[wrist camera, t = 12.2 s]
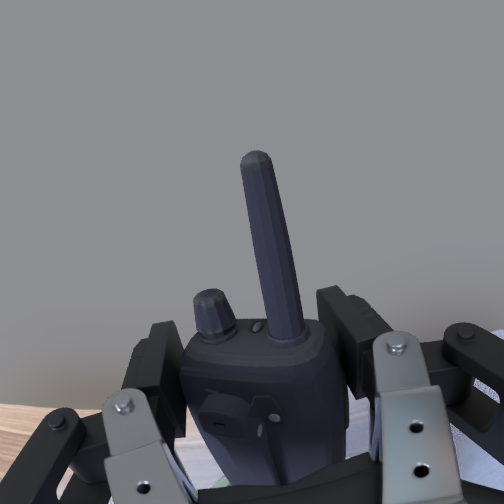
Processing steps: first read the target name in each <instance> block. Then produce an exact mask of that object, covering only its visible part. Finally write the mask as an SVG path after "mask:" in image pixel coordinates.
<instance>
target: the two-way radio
mask: <svg viewBox="0 0 504 504" xmlns="http://www.w3.org/2000/svg"><path fill="white" fill-rule="evenodd" d="M240 168H241V174H242V180H243V186H244V192H245V198H246V204H247V210H248V216H249V222H250V228H251V234H252V240H253V246H254V252H255V257H256V262H257V267H258V273H259V279H260V284H261V289H262V294H263V300H264V305H265V310H266V315H267V319H236V318H235V315H234V313H233V311H232V309H231V307H230V305H229V303H228V301H227V299H226V297H225V295H224V292H223V291H221V290H219V289H207V290H204V291H202V292H200V293H198V294H197V295H196V296H195V297H194V300H193V301H194V302H193V303H194V312H195V320H196V328H197V331H198V332H197V333H196V334H195V335H194V336H193V338H191V340H190V341H189V343H188V345H187V346H186V348H185V350H184V352H183V354H182V359H181V368H180V374H179V381H180V385H181V389H182V392H183V395H184V398H185V400H186V402H187V405H188V408H189V410H190V413H191V415H192V417H193V419H194V421H195V424H196V426H197V428H198V430H199V432H200V434H201V436H202V438H203V439H204V441H205V443H206V445H207V447H208V449H209V450H210V452H211V454H212V455H213V457H214V459H215V460H216V462H217V463H218V465H219V467H220V468H221V470H222V471H223V473H224V474H225V476H226V478H227V479H228V481H229V482H230V484H231V485H232V486H234V485H288V484H290V483H293V482H295V481H297V480H299V479H301V478H303V477H305V476H307V475H309V474H311V473H313V472H315V471H317V470H319V469H321V468H323V467H325V466H327V465H329V464H333V463H336V462H339V461H342V460H345V459H346V429H347V428H348V427H349V398H348V387H347V378H346V373H345V372H344V370H343V369H342V366H341V363H340V361H339V357H338V353H337V349H336V346H335V344H334V341H333V339H332V336H331V334H330V331H329V330H328V329H327V328H326V327H325V326H324V324H323V323H321V322H319V321H317V320H311V319H304V318H303V312H302V306H301V300H300V294H299V288H298V283H297V277H296V272H295V266H294V261H293V255H292V250H291V245H290V240H289V235H288V230H287V226H286V222H285V217H284V212H283V208H282V204H281V199H280V195H279V190H278V186H277V182H276V177H275V173H274V169H273V165H272V161H271V158H270V157H269V156H268V154H267V153H264V152H262V151H251V152H249V153H248V154H246V155H245V156H244V157H243V158H242V161H241V164H240Z"/></svg>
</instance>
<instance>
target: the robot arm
mask: <svg viewBox="0 0 504 504" xmlns="http://www.w3.org/2000/svg"><path fill="white" fill-rule="evenodd" d="M316 298H317V307H318V319H319V322H321V323H323V324H324V326H325V327H326V328H327V329H328V330H329V331H330V334H331V336H332V339H333V341H334V344H335V346H336V349H337V353H338V357H339V361H340V363H341V366H342V369H343V370H344V372H345V373H346V378H347V385H348V387H349V388H350V390H351V392H352V394H353V396H354V397H355V399H356V400H358V399H361V398H364V397H367V398H368V400H369V402H370V403H369V452H366V453H363V454H360V455H357V456H354V457H351V458H348V459H345V460H342V461H339V462H336V463H333V464H329V465H327V466H325V467H323V468H321V469H319V470H317V471H315V472H313V473H311V474H309V475H307V476H305V477H303V478H301V479H299V480H297V481H295V482H293V483H290V484H288V485H234V486H227V487H219V488H210V489H200V490H198V493H197V491H196V489H195V488H194V486H193V484H192V482H191V480H190V478H189V476H188V474H187V472H186V470H185V468H184V466H183V464H182V462H181V460H180V458H179V456H178V454H177V452H176V450H175V449H174V441H175V438H183V437H186V410H187V402H186V400H185V398H184V395H183V392H182V389H181V385H180V381H179V374H180V368H181V359H182V354H183V352H184V349H183V346H182V343H181V340H180V337H179V334H178V331H177V328H176V326H175V323H174V322H173V321H172V320H171V321H166V322H160V323H155V324H153V325H152V327H151V331H150V334H149V338H146V339H142V340H141V341H140V342H139V343H138V344H137V345H136V347H134V349H133V353H132V356H131V359H130V362H129V367H128V368H127V372H126V375H125V378H124V381H123V385H122V388H121V390H119V391H117V392H115V393H113V394H112V395H110V396H109V397H108V398H107V399H106V400H105V402H104V403H103V405H102V412H100V413H97V414H94V415H91V416H87V417H84V418H80V417H79V416H78V414H77V413H76V411H74V410H73V409H71V408H59V409H56V410H54V411H52V412H50V413H49V414H48V415H46V416H45V418H44V419H43V420H42V422H41V423H40V424H39V426H38V427H37V429H36V430H35V431H34V433H33V434H32V436H31V437H30V439H29V440H28V442H27V443H26V445H25V446H24V447H23V449H22V450H21V452H20V453H19V455H18V456H17V458H16V459H15V461H14V462H13V464H12V465H11V467H10V469H9V470H8V472H7V473H6V475H5V476H4V478H3V479H2V481H1V483H0V504H108V502H109V500H110V498H111V495H112V498H113V502H114V504H504V491H501V490H497V489H493V488H489V487H486V486H482V485H478V484H475V483H472V482H468V481H465V480H462V479H460V474H459V468H458V462H457V456H456V451H455V446H454V441H453V436H452V432H451V427H450V423H451V424H453V425H454V426H455V427H456V428H458V429H459V430H460V431H461V432H463V433H464V434H465V435H466V436H468V437H469V438H470V439H471V440H472V441H474V442H475V443H476V444H477V445H479V446H480V447H481V448H482V449H484V450H485V451H486V452H487V453H489V454H490V455H491V456H492V457H494V458H495V459H496V460H497V461H499V462H500V463H501V464H502V465H504V340H503V339H501V338H499V337H497V336H496V335H494V334H492V333H490V332H488V331H486V330H484V329H483V328H481V327H479V326H477V325H475V324H471V323H456V324H453V325H451V326H449V327H448V328H447V329H446V330H445V332H444V338H443V340H440V341H433V342H424V343H419V341H418V339H417V338H416V337H415V336H413V335H412V334H410V333H407V332H402V331H394V330H393V329H392V328H391V327H390V326H389V325H388V324H387V323H386V322H385V321H384V320H383V319H382V318H381V316H380V315H379V314H377V313H376V311H375V310H374V309H373V308H371V306H370V305H369V304H368V303H367V302H366V301H365V300H364V299H362V298H360V297H358V296H355V295H349V296H346V295H345V294H344V292H343V291H342V290H341V289H340V288H339V287H338V286H337V285H335V286H331V287H327V288H323V289H319V290H317V292H316ZM475 378H477V379H478V380H480V381H481V382H483V383H484V384H486V385H487V386H489V387H490V388H492V389H493V390H494V391H496V392H497V394H498V395H499V398H500V404H499V403H497V402H496V401H495V400H493V399H492V398H490V397H489V396H487V395H486V394H484V393H483V392H482V391H480V390H479V389H477V388H476V387H474V386H473V385H474V382H475ZM449 422H450V423H449ZM68 466H69V467H70V468H71V470H72V471H73V472H74V473H73V475H72V477H71V479H70V481H69V483H68V484H67V486H66V488H65V490H64V492H63V494H62V496H61V498H60V500H58V498H57V494H56V490H57V487H58V485H59V483H60V481H61V479H62V477H63V475H64V474H65V472H66V470H67V468H68Z"/></svg>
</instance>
